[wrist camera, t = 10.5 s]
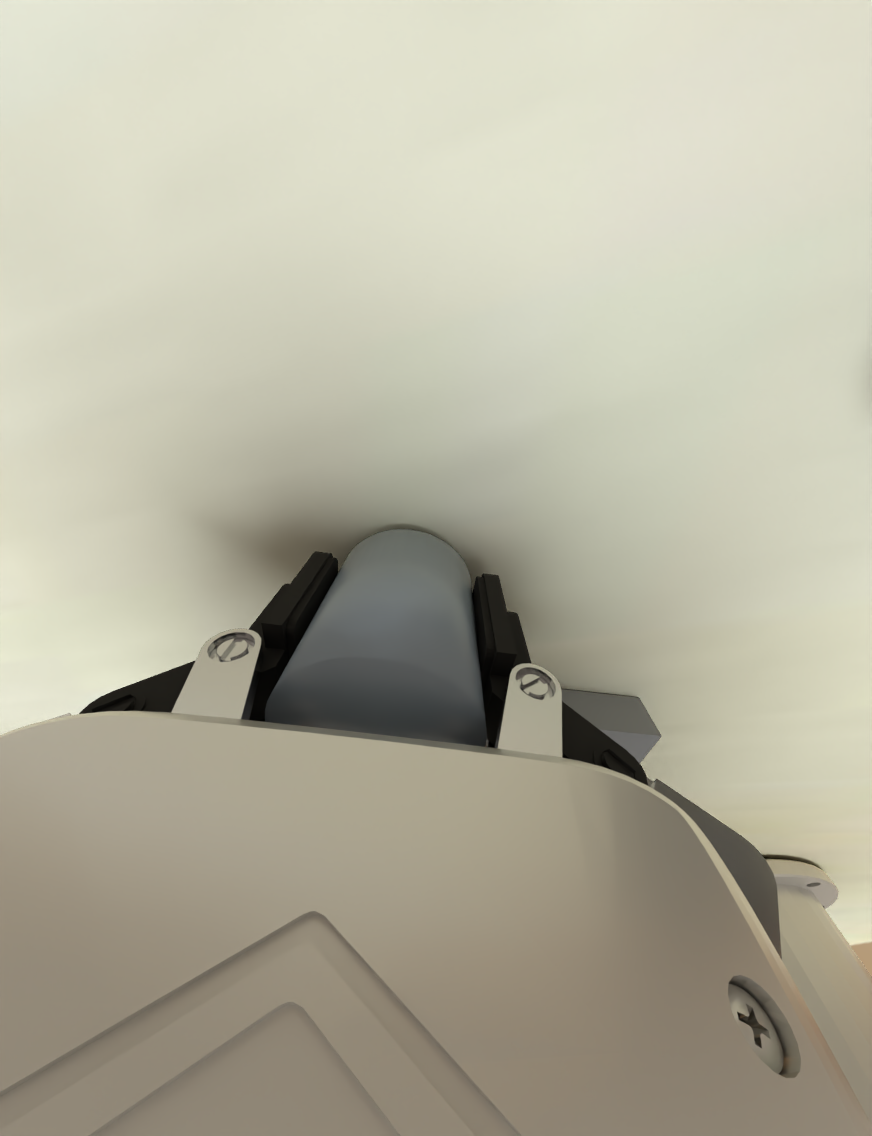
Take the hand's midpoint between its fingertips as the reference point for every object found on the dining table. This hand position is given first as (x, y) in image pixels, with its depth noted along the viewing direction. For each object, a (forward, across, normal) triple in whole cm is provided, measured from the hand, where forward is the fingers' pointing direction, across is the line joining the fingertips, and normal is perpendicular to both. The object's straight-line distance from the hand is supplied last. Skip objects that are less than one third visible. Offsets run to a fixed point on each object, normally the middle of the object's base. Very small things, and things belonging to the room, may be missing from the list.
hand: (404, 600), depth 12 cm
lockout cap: (+1, 0, 0) cm, 1 cm away
